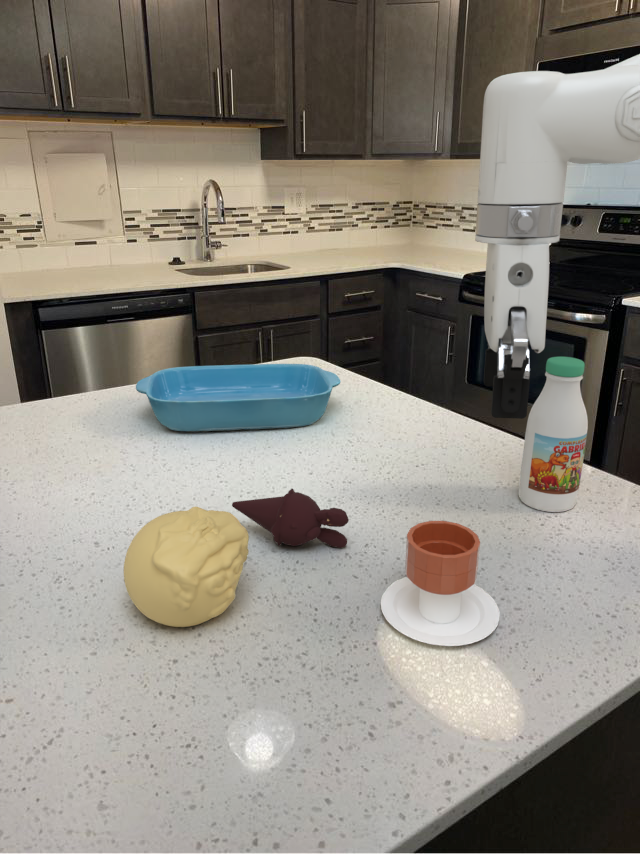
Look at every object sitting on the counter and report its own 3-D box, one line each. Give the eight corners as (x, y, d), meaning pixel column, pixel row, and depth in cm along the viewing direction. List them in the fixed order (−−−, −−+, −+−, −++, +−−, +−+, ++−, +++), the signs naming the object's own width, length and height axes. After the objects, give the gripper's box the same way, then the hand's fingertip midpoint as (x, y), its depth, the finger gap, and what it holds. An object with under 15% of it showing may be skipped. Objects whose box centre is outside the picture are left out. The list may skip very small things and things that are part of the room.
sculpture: (199, 658, 62) (191, 558, 58) (105, 618, 67) (92, 525, 63) (267, 594, 71) (264, 505, 67) (180, 564, 77) (173, 479, 73)
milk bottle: (506, 499, 92) (522, 359, 85) (536, 483, 97) (554, 349, 89) (557, 519, 86) (578, 372, 79) (586, 501, 91) (609, 360, 84)
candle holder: (384, 575, 75) (385, 541, 73) (493, 584, 73) (497, 550, 71) (376, 645, 64) (377, 607, 62) (504, 658, 62) (509, 619, 60)
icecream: (216, 502, 77) (339, 532, 73) (242, 464, 83) (357, 490, 79) (221, 544, 81) (338, 574, 78) (246, 504, 87) (355, 531, 83)
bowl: (467, 558, 70) (471, 520, 68) (482, 597, 63) (487, 557, 62) (401, 558, 70) (403, 520, 68) (409, 597, 63) (412, 557, 62)
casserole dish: (328, 391, 136) (328, 358, 134) (350, 431, 116) (351, 392, 113) (144, 401, 131) (141, 366, 128) (133, 443, 110) (129, 403, 108)
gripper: (579, 232, 52) (556, 433, 59) (545, 217, 68) (529, 376, 75) (482, 233, 54) (470, 430, 60) (470, 218, 70) (461, 375, 76)
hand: (503, 400), depth 67 cm, fingers open, 9 cm apart
